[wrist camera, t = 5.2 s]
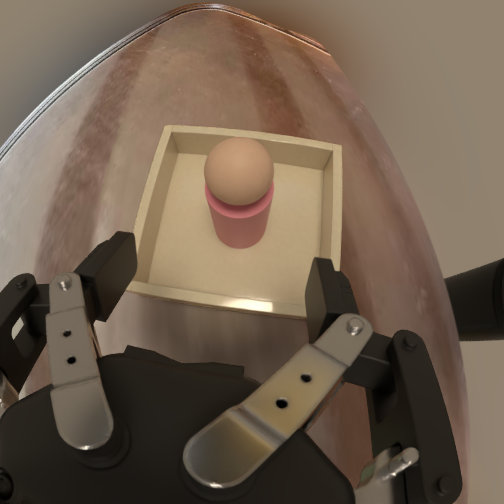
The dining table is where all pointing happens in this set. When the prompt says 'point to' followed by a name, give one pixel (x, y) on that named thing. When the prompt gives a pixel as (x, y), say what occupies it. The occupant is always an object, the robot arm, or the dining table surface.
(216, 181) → the doll
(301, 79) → the dining table surface
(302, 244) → the tray
